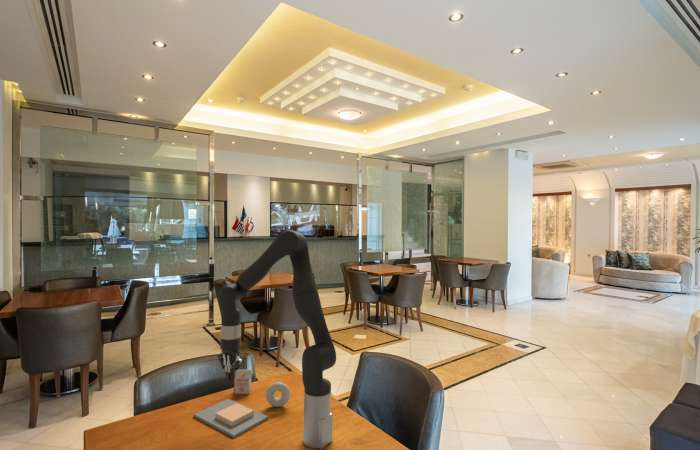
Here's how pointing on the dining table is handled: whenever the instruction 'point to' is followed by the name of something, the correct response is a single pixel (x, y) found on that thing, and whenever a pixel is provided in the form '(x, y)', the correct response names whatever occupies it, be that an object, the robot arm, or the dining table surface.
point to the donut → (272, 399)
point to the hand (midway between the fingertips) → (229, 380)
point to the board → (209, 418)
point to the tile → (234, 414)
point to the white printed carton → (242, 382)
